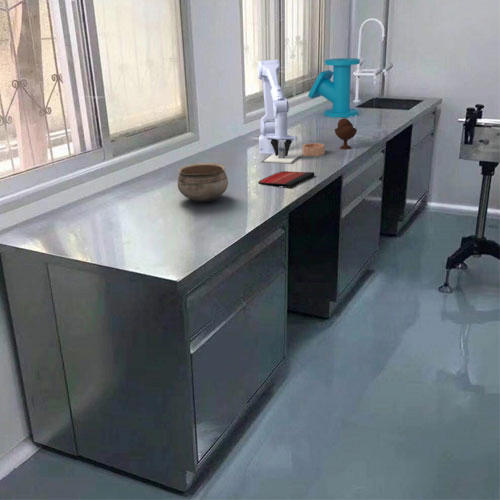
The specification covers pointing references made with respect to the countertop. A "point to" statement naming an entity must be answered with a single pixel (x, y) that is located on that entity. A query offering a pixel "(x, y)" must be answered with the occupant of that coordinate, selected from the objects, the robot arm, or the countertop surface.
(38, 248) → the countertop surface
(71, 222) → the countertop surface
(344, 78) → the pipe fitting
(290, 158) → the cover sheet
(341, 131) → the ice cream bowl
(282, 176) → the binder
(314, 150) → the dish
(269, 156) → the mat
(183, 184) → the cooking pot
